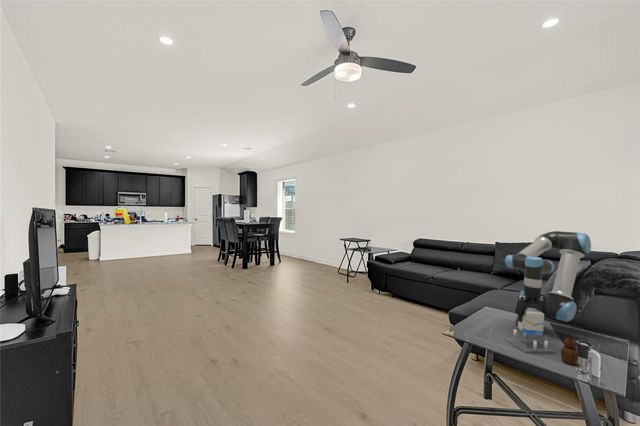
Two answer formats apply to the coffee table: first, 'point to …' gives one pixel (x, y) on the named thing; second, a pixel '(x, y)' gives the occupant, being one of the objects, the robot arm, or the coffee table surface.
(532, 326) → the ink box
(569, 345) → the wooden figurine
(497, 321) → the coffee table surface
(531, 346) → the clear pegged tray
